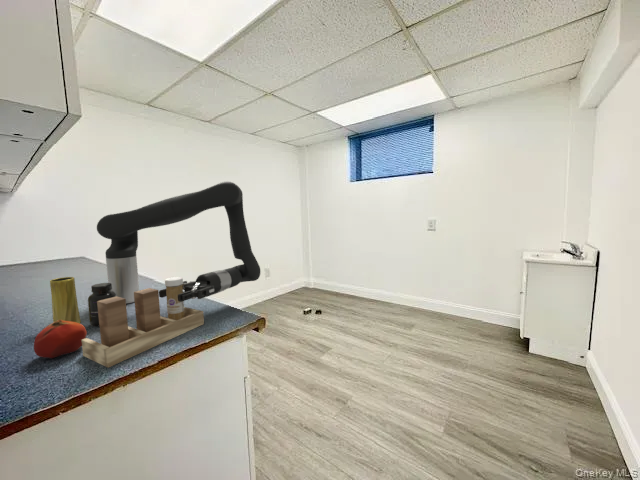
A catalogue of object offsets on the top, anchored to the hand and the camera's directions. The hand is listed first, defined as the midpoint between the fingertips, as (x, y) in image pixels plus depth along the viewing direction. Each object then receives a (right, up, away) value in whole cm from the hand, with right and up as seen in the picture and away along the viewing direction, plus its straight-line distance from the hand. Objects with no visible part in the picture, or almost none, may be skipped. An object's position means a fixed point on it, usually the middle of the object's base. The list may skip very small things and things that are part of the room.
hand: (169, 296), depth 75 cm
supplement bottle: (-23, -10, +6) cm, 26 cm away
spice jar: (+1, -9, +3) cm, 9 cm away
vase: (-33, -10, +4) cm, 35 cm away
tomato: (-19, -11, -12) cm, 25 cm away
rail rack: (-3, -10, -4) cm, 11 cm away
